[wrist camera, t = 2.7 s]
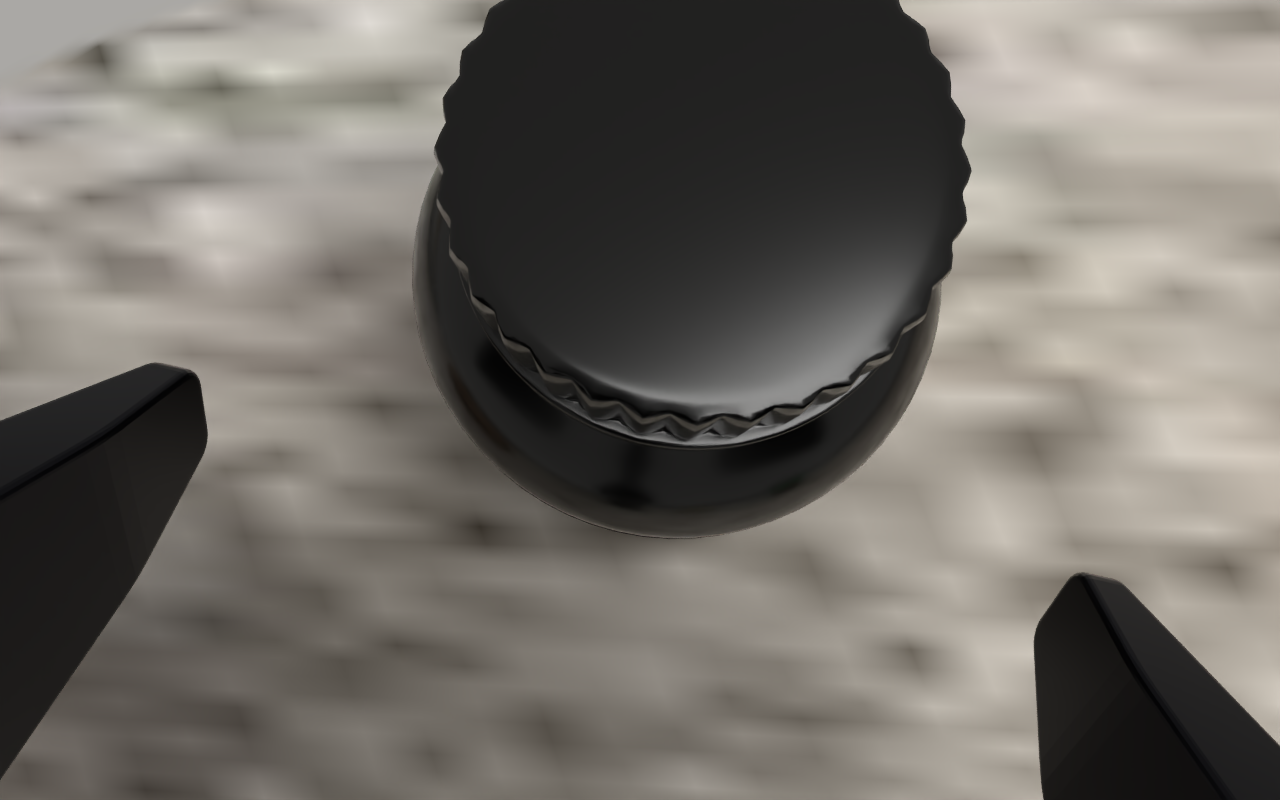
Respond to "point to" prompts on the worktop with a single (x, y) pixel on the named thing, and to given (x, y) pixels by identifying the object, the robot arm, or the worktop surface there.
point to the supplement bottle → (688, 250)
